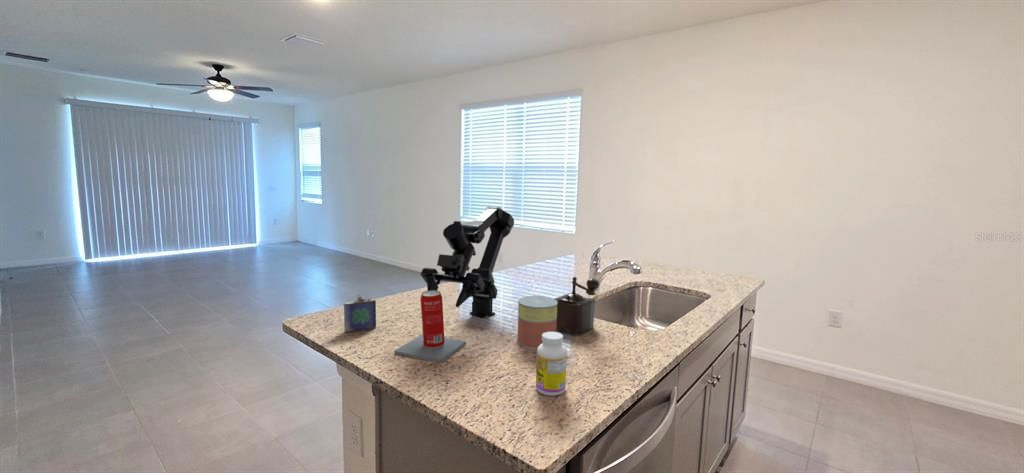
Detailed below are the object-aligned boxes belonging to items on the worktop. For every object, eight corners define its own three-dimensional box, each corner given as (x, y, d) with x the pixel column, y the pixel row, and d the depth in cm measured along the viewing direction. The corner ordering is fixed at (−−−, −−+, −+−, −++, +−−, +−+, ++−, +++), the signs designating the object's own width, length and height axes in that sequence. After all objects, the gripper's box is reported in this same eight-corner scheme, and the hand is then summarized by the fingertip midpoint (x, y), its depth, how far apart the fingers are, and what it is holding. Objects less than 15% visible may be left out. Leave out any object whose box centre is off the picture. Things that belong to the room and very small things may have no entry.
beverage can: (448, 344, 123) (449, 291, 121) (433, 351, 118) (433, 296, 116) (432, 339, 126) (432, 287, 124) (416, 346, 121) (416, 293, 119)
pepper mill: (547, 329, 140) (550, 272, 137) (566, 320, 148) (568, 267, 146) (592, 341, 130) (595, 281, 128) (609, 331, 139) (612, 274, 136)
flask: (345, 333, 131) (344, 298, 130) (343, 330, 134) (342, 295, 132) (377, 328, 136) (376, 294, 135) (374, 326, 138) (374, 292, 137)
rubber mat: (423, 336, 131) (423, 333, 131) (466, 343, 126) (466, 341, 126) (394, 353, 118) (394, 350, 118) (440, 362, 113) (440, 359, 113)
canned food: (564, 341, 129) (565, 301, 128) (539, 352, 121) (540, 309, 119) (534, 331, 137) (535, 293, 135) (509, 341, 129) (510, 300, 127)
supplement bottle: (533, 383, 103) (535, 329, 102) (562, 382, 104) (564, 329, 102) (537, 397, 97) (539, 340, 95) (568, 396, 97) (570, 340, 96)
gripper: (423, 240, 131) (401, 285, 123) (481, 245, 125) (462, 294, 116) (437, 262, 140) (418, 305, 131) (491, 267, 133) (475, 314, 125)
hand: (442, 304), depth 126 cm, fingers open, 9 cm apart
